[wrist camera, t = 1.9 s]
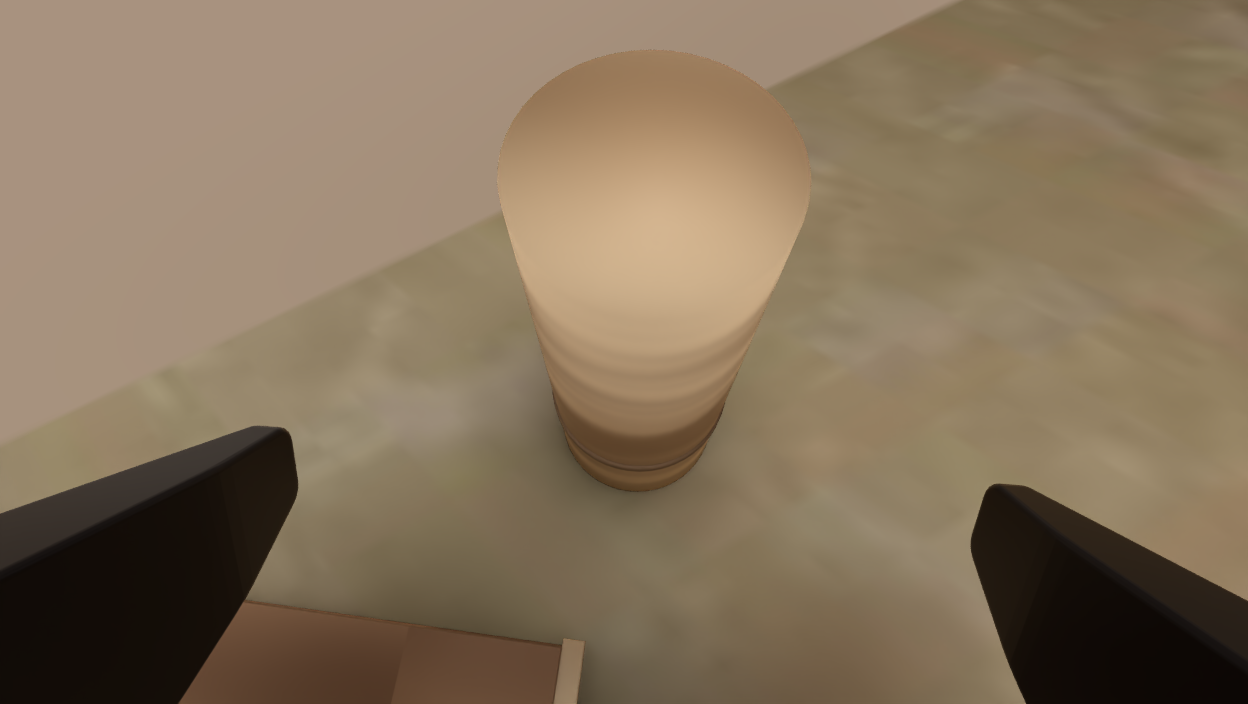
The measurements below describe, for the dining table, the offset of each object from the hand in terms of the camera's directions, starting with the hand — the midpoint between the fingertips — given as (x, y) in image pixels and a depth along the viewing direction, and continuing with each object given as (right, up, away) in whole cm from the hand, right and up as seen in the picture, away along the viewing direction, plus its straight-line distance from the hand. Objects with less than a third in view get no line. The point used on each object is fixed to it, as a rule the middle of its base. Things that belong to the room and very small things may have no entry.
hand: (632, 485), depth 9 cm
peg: (0, 0, +12) cm, 12 cm away
